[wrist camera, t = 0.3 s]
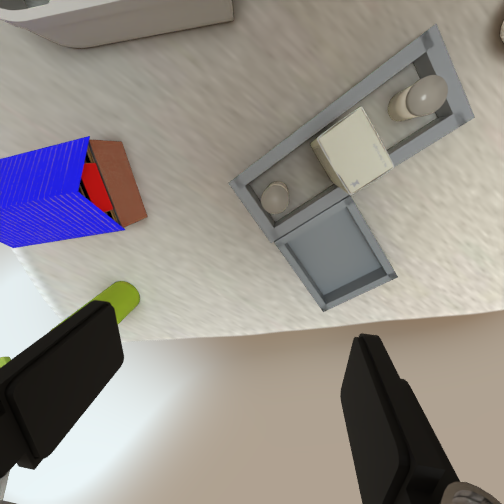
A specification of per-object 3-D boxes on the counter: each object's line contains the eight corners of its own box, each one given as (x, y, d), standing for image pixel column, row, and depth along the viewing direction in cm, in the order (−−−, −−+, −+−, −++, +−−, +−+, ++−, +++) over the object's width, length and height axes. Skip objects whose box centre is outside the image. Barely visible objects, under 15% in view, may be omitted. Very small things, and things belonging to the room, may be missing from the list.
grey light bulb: (280, 175, 34) (278, 180, 29) (293, 195, 35) (294, 204, 30) (260, 189, 35) (255, 196, 30) (274, 209, 36) (271, 219, 31)
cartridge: (410, 83, 28) (439, 66, 23) (422, 109, 29) (453, 99, 24) (382, 103, 30) (403, 91, 24) (394, 128, 30) (417, 123, 25)
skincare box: (361, 163, 32) (398, 169, 21) (330, 183, 34) (351, 198, 23) (337, 120, 31) (364, 102, 20) (306, 143, 32) (315, 138, 21)
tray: (345, 191, 34) (350, 195, 31) (389, 267, 37) (398, 277, 34) (275, 235, 38) (274, 242, 35) (320, 300, 41) (323, 312, 38)
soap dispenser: (126, 272, 44) (10, 356, 26) (145, 303, 46) (51, 401, 28) (101, 281, 46) (-24, 366, 28) (121, 311, 48) (17, 408, 30)
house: (17, 165, 40) (-83, 169, 29) (123, 139, 36) (53, 132, 25) (51, 234, 44) (-26, 261, 33) (150, 218, 40) (99, 241, 29)
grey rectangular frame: (421, 36, 27) (436, 23, 24) (457, 120, 29) (474, 117, 26) (233, 180, 36) (228, 183, 33) (272, 236, 38) (270, 243, 35)
